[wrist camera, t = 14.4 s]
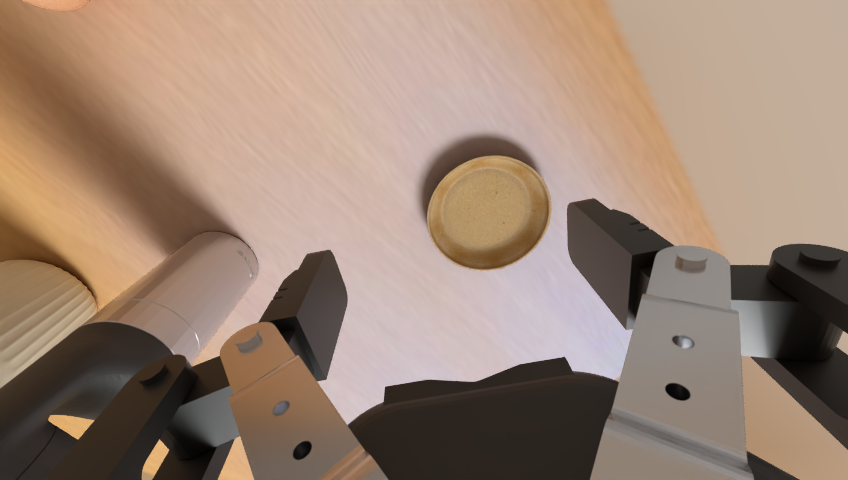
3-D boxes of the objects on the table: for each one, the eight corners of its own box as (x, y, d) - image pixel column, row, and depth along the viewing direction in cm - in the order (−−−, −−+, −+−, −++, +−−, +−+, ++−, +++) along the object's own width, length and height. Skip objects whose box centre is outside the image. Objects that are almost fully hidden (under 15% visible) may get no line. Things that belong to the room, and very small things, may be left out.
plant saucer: (435, 142, 40) (436, 147, 37) (559, 159, 41) (568, 164, 39) (419, 254, 46) (419, 264, 44) (526, 266, 47) (532, 276, 45)
